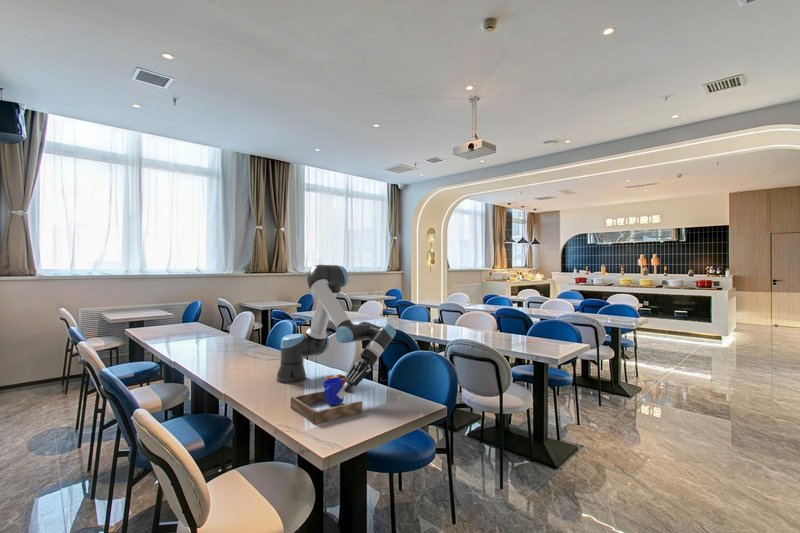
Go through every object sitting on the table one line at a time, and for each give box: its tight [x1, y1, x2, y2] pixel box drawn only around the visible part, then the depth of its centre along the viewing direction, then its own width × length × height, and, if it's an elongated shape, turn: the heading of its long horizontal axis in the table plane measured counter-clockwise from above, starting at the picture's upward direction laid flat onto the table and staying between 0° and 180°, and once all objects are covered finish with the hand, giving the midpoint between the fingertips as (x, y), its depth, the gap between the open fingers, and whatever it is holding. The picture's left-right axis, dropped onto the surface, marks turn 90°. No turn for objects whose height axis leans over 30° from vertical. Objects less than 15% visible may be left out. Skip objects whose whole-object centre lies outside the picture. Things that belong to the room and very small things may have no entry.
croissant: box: [324, 374, 346, 385], centre depth 191 cm, size 21×10×8 cm, turn 45°
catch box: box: [290, 390, 363, 425], centre depth 158 cm, size 21×22×4 cm
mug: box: [322, 377, 345, 406], centre depth 163 cm, size 8×12×10 cm
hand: (339, 397), depth 162 cm, fingers closed
